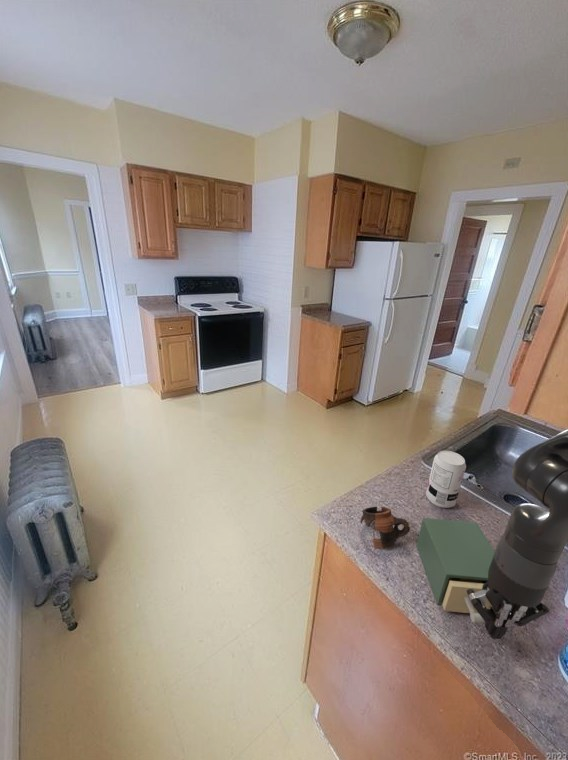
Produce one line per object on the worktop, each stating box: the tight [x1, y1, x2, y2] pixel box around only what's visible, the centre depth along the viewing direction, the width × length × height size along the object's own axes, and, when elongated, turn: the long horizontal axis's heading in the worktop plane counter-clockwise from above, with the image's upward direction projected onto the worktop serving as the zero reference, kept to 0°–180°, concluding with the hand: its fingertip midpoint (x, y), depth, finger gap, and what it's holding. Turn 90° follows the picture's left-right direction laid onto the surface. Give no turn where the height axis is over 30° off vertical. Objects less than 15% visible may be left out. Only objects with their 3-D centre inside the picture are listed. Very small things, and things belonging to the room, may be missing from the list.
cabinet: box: [415, 517, 496, 606], centre depth 72 cm, size 15×13×9 cm
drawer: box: [441, 577, 489, 625], centre depth 68 cm, size 18×11×7 cm, turn 175°
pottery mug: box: [359, 506, 411, 549], centre depth 83 cm, size 12×10×8 cm
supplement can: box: [425, 450, 467, 509], centre depth 93 cm, size 8×8×15 cm
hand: (493, 633), depth 58 cm, fingers closed
